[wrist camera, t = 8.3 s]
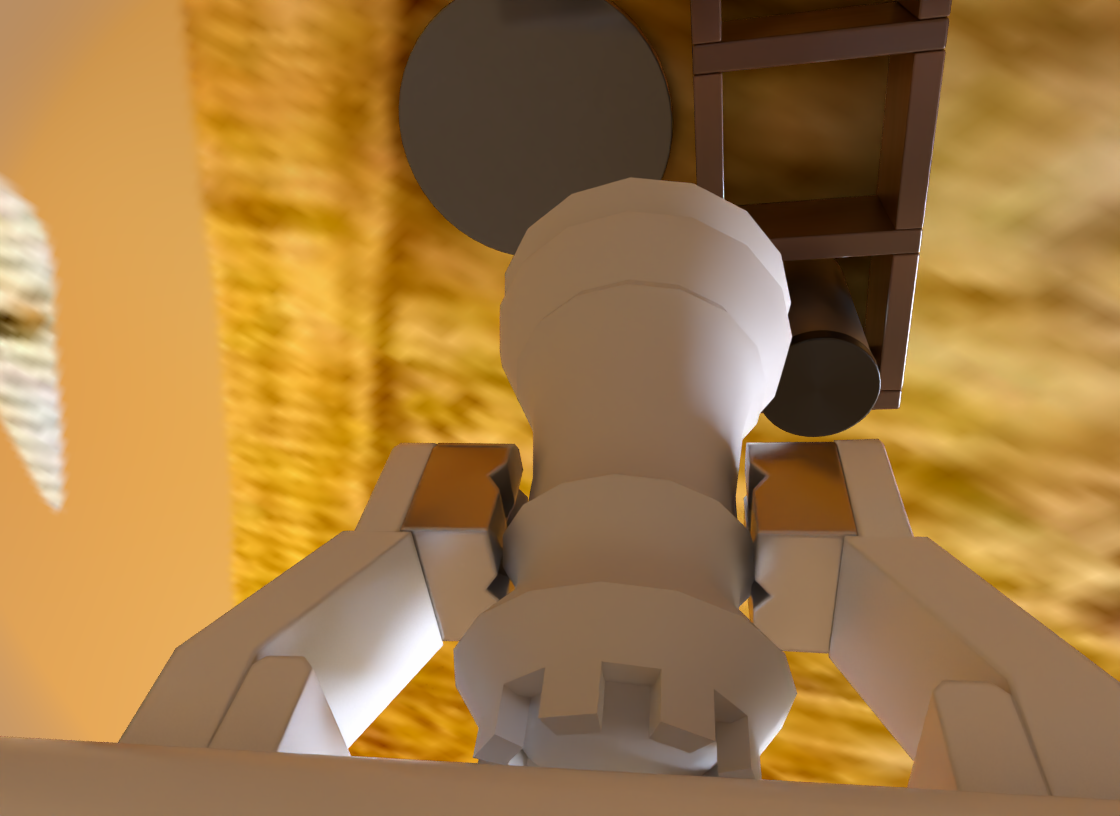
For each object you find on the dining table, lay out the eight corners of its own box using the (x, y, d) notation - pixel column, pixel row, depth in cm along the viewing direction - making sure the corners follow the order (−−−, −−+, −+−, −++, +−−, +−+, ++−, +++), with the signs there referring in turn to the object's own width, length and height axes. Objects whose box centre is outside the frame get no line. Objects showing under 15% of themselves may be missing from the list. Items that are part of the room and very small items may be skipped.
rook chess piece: (849, 282, 13) (1006, 806, 7) (657, 440, 15) (642, 924, 9) (625, 97, 11) (561, 552, 5) (455, 306, 14) (278, 775, 8)
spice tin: (796, 223, 28) (822, 315, 23) (867, 284, 29) (907, 386, 24) (723, 293, 30) (731, 392, 24) (792, 348, 31) (814, 456, 25)
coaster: (503, -98, 24) (500, -96, 23) (731, 108, 26) (732, 112, 26) (354, 144, 28) (349, 148, 28) (560, 298, 31) (558, 305, 30)
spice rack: (683, -216, 22) (682, -221, 19) (951, -259, 20) (987, -271, 18) (703, 370, 32) (704, 415, 29) (883, 363, 31) (900, 409, 28)
